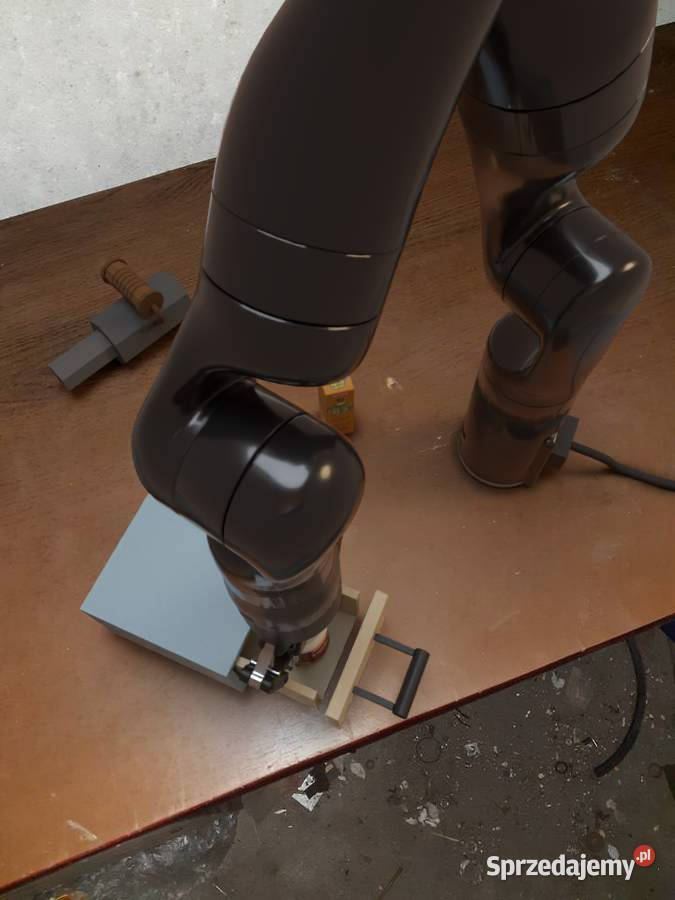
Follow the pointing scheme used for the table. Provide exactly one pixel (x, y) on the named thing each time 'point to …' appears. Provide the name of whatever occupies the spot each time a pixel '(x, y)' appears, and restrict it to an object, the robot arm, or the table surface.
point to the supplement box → (338, 404)
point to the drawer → (316, 677)
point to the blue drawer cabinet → (170, 595)
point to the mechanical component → (124, 322)
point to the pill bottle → (315, 648)
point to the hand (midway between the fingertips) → (302, 629)
